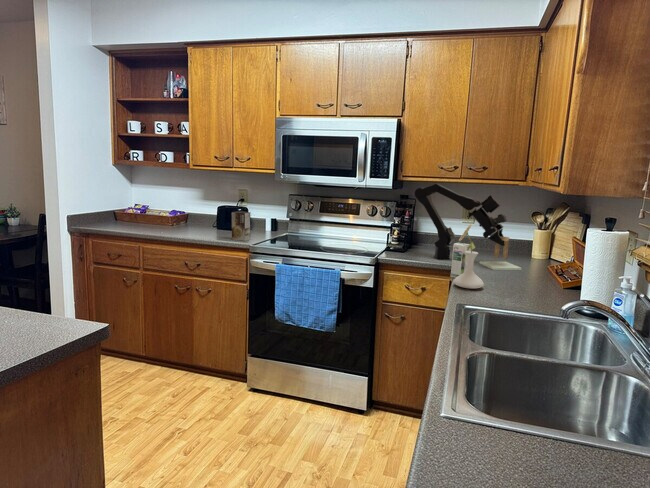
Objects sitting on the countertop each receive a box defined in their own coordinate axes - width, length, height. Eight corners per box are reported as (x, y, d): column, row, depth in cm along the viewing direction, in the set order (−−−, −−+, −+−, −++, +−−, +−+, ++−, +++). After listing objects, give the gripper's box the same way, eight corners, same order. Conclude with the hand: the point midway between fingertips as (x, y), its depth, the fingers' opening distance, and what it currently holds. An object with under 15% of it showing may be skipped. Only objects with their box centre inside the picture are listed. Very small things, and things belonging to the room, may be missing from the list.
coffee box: (250, 239, 267) (251, 212, 265) (244, 241, 262) (245, 213, 259) (237, 238, 271) (237, 211, 268) (231, 239, 265) (231, 211, 262)
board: (493, 269, 212) (493, 267, 212) (479, 263, 226) (479, 261, 226) (521, 270, 214) (521, 268, 214) (505, 263, 228) (506, 261, 228)
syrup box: (449, 277, 194) (452, 243, 192) (457, 275, 199) (460, 242, 196) (462, 279, 190) (465, 245, 188) (469, 277, 195) (472, 244, 192)
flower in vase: (461, 281, 187) (467, 220, 183) (488, 287, 179) (495, 224, 175) (445, 287, 178) (451, 222, 173) (472, 293, 170) (479, 226, 166)
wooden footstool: (493, 257, 219) (496, 237, 217) (496, 256, 223) (498, 236, 221) (505, 259, 216) (507, 238, 214) (506, 257, 220) (509, 237, 219)
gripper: (493, 209, 210) (515, 236, 206) (500, 207, 225) (522, 232, 222) (473, 225, 215) (495, 251, 211) (482, 221, 231) (503, 246, 227)
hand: (504, 244), depth 218 cm, fingers closed on wooden footstool, 5 cm apart
